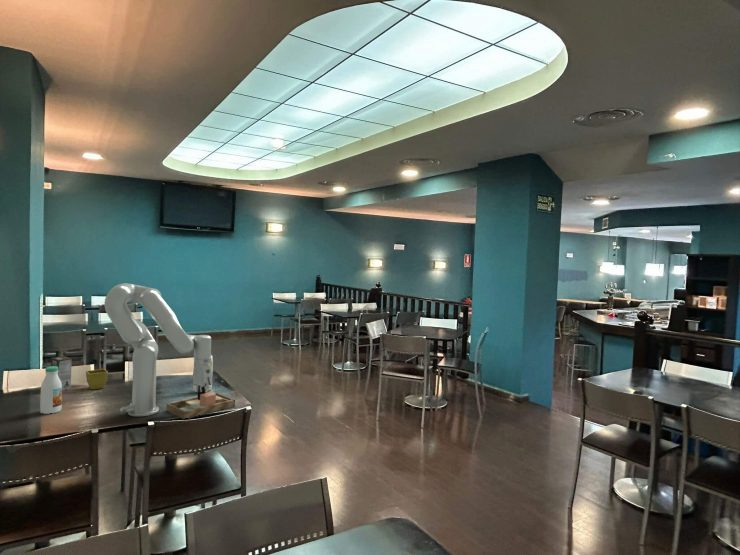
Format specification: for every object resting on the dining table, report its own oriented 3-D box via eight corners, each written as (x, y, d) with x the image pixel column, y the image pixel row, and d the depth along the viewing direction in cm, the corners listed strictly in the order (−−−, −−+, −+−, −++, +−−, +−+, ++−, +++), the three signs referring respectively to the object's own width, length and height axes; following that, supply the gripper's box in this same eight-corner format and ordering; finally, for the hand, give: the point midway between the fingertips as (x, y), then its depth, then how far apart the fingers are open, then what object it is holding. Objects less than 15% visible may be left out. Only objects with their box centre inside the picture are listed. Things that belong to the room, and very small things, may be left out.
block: (205, 407, 204) (206, 396, 204) (199, 405, 207) (200, 394, 207) (215, 405, 208) (215, 394, 208) (209, 402, 211) (209, 392, 211)
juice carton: (205, 393, 232) (206, 357, 232) (191, 392, 234) (192, 356, 234) (213, 389, 240) (214, 355, 239) (199, 388, 242) (200, 353, 241)
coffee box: (49, 388, 231) (50, 357, 230) (63, 385, 236) (64, 355, 235) (57, 391, 226) (58, 360, 225) (71, 388, 231) (72, 358, 231)
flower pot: (85, 387, 234) (85, 370, 234) (104, 384, 240) (104, 368, 240) (88, 391, 228) (88, 374, 228) (107, 388, 234) (108, 371, 233)
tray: (183, 419, 194) (184, 412, 194) (166, 410, 205) (166, 403, 204) (235, 406, 215) (235, 399, 215) (216, 398, 225) (216, 392, 225)
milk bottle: (44, 415, 192) (45, 370, 191) (37, 411, 196) (37, 367, 195) (64, 411, 199) (65, 367, 198) (56, 407, 203) (57, 364, 202)
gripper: (218, 362, 208) (217, 401, 208) (201, 357, 217) (200, 394, 218) (203, 365, 202) (202, 404, 202) (186, 359, 211) (185, 397, 212)
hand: (201, 399), depth 210 cm, fingers closed
